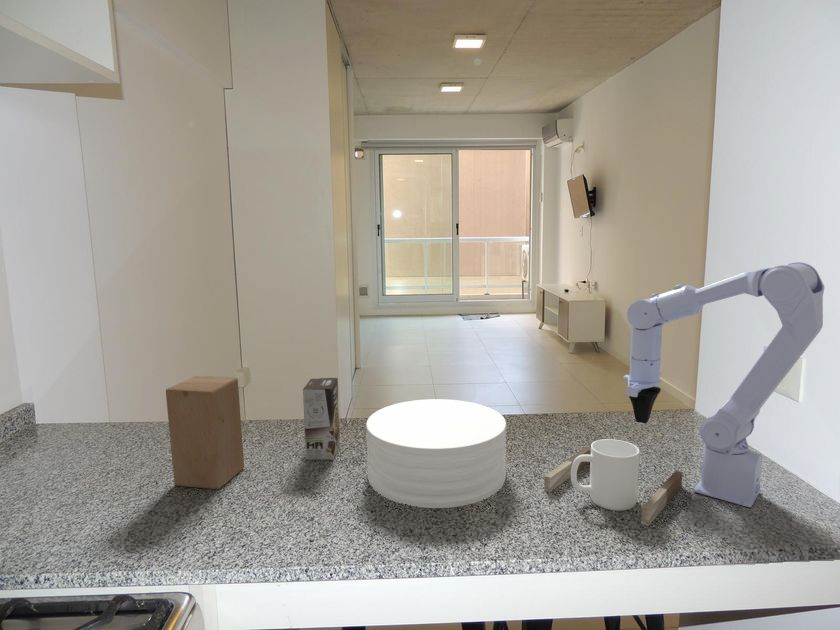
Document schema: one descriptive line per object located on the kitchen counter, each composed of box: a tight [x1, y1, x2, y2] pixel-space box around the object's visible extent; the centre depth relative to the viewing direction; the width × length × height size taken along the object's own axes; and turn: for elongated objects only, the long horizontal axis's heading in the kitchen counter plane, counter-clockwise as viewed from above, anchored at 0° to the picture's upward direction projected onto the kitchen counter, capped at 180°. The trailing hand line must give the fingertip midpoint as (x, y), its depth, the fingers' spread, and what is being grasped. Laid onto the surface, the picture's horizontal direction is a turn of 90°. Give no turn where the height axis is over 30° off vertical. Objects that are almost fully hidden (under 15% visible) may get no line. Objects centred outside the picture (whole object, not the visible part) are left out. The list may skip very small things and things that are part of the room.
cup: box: [570, 438, 641, 512], centre depth 101 cm, size 8×12×10 cm
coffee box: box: [302, 377, 341, 461], centre depth 124 cm, size 9×6×16 cm
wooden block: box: [165, 375, 245, 490], centre depth 112 cm, size 10×10×20 cm
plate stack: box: [365, 398, 507, 509], centre depth 113 cm, size 28×28×12 cm
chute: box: [543, 446, 684, 527], centre depth 105 cm, size 19×18×3 cm
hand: (641, 421), depth 114 cm, fingers closed
